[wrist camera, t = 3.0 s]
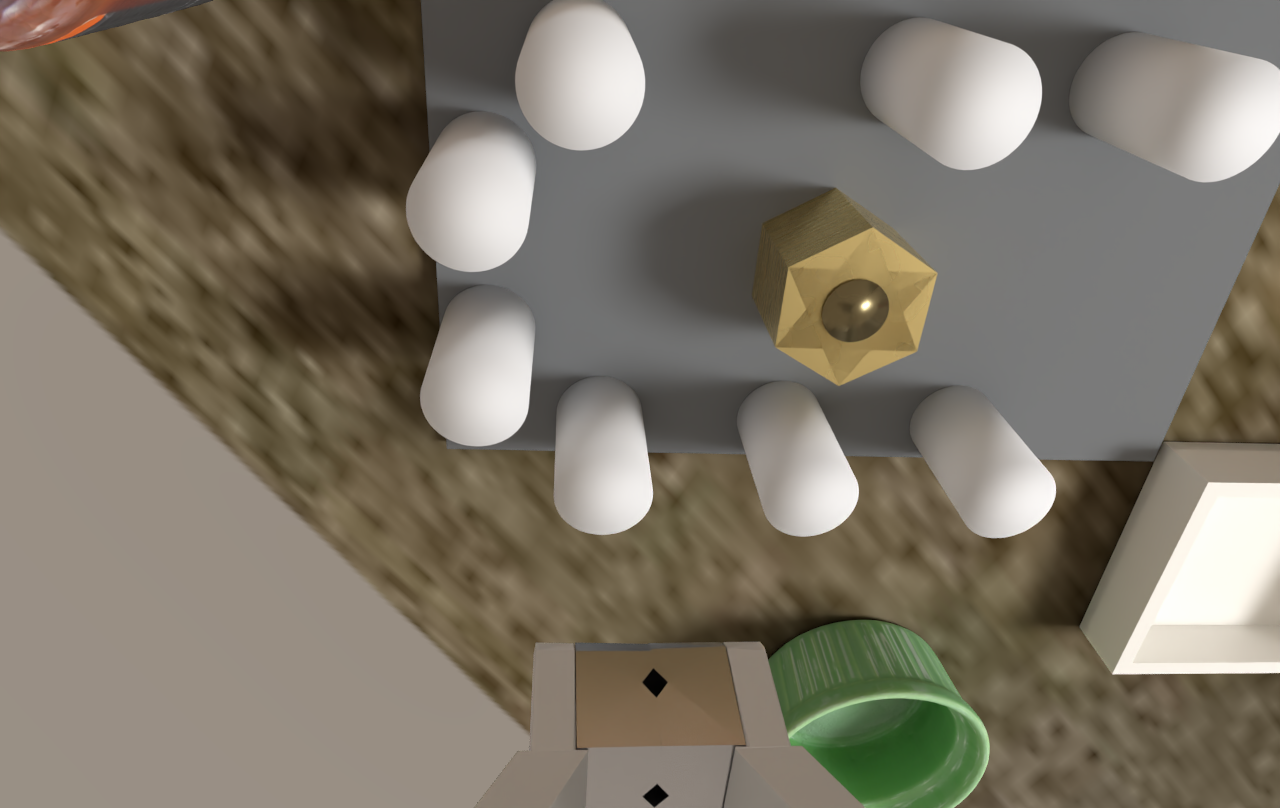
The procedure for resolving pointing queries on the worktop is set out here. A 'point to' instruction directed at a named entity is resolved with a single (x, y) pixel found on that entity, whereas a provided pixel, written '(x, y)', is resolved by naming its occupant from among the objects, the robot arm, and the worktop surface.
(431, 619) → the worktop surface
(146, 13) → the supplement bottle
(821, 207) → the tan faceted block
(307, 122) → the worktop surface
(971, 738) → the ramekin
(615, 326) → the mat
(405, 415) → the worktop surface
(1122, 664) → the ceramic dish
